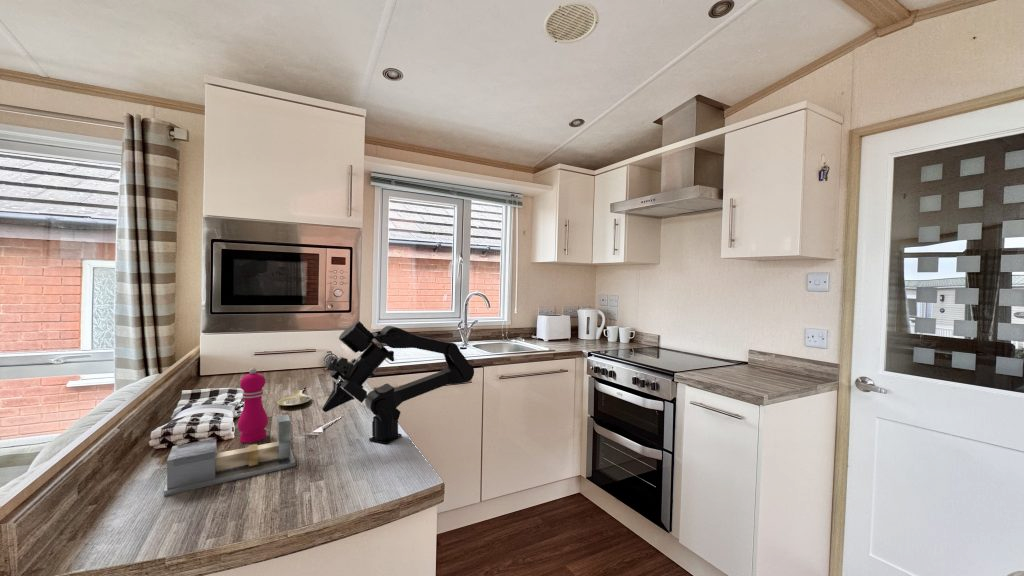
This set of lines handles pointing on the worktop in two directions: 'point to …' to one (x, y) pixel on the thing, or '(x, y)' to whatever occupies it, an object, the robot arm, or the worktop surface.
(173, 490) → the grey long blocky piece
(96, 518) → the worktop surface
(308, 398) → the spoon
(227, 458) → the shaft
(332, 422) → the fork
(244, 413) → the pepper mill
